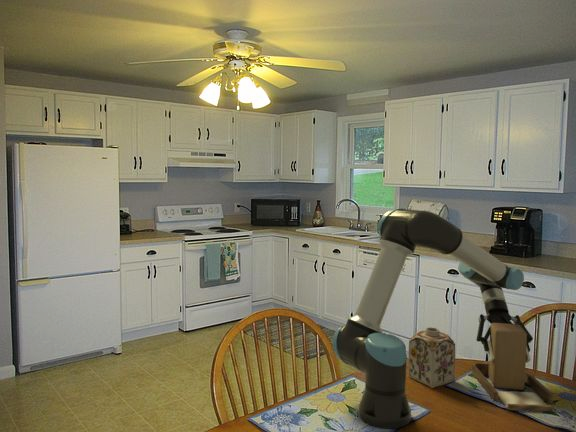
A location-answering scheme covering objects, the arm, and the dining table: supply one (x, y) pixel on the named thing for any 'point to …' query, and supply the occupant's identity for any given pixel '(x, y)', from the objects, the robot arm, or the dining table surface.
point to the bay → (515, 398)
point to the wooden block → (508, 356)
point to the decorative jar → (431, 358)
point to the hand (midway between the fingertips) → (510, 360)
